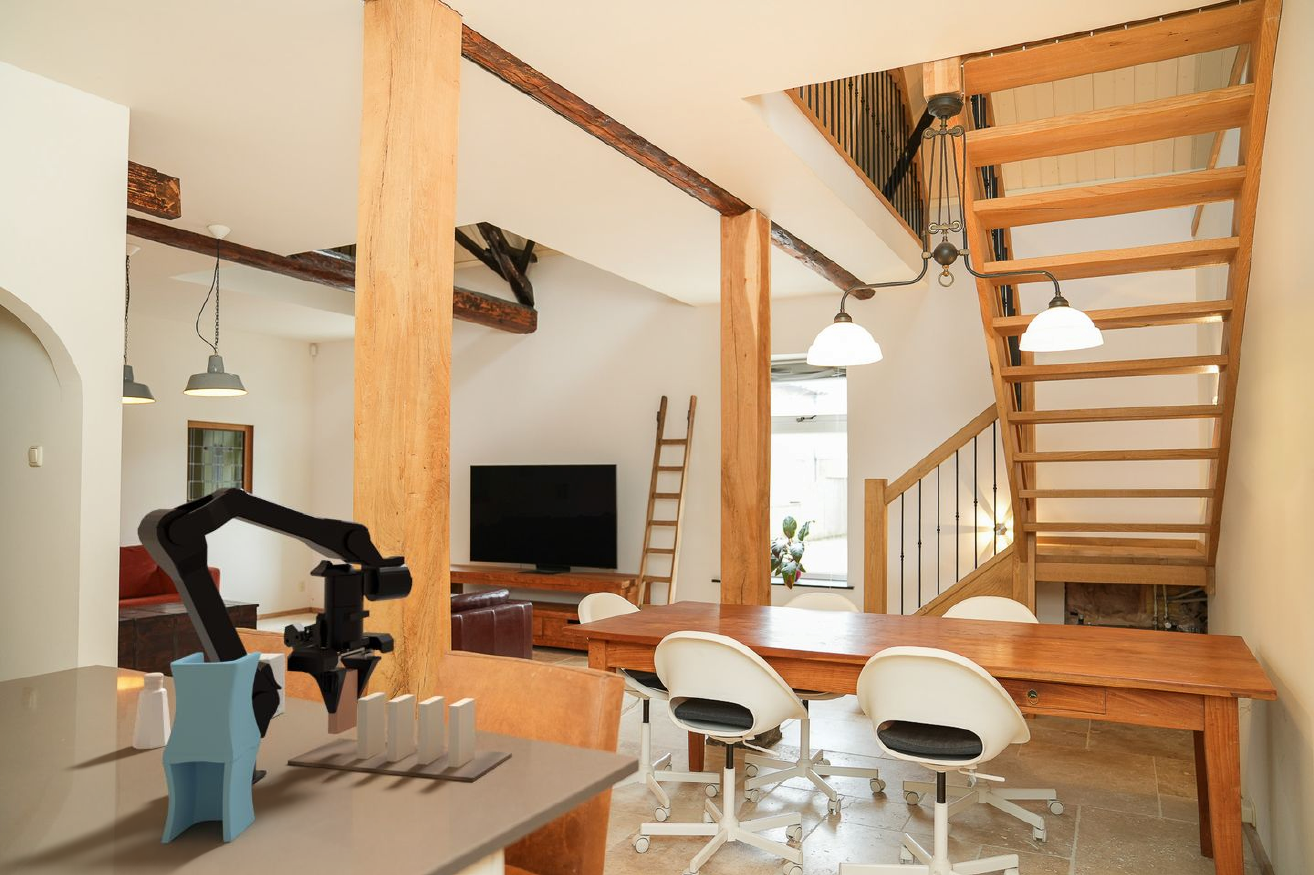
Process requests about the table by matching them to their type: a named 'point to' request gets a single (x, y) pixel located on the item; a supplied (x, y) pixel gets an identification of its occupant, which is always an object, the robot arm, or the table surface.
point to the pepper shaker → (152, 714)
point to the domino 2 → (400, 727)
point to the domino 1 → (371, 725)
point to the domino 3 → (431, 730)
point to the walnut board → (398, 762)
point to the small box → (277, 675)
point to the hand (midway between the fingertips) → (342, 709)
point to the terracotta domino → (345, 706)
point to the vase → (212, 745)
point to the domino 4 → (461, 732)
